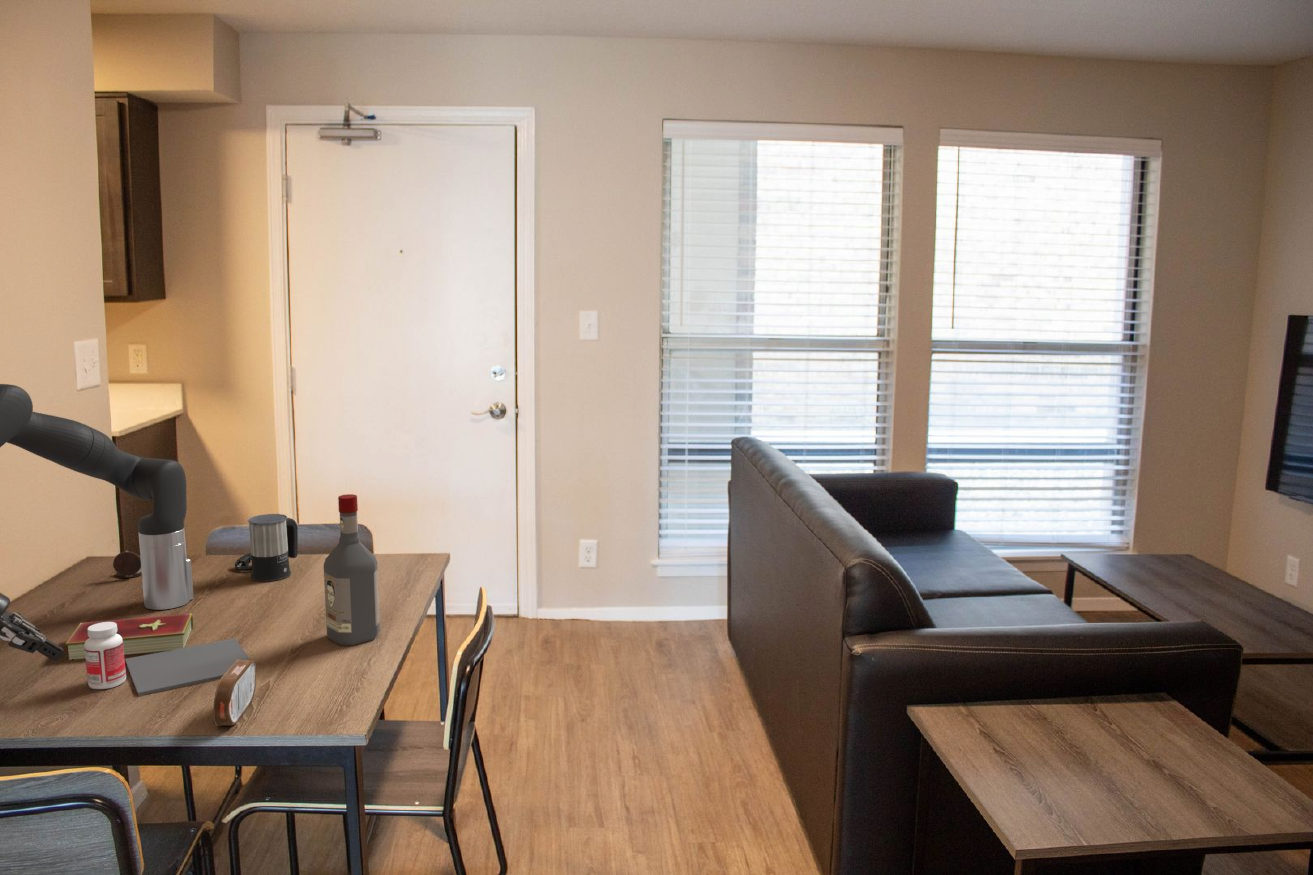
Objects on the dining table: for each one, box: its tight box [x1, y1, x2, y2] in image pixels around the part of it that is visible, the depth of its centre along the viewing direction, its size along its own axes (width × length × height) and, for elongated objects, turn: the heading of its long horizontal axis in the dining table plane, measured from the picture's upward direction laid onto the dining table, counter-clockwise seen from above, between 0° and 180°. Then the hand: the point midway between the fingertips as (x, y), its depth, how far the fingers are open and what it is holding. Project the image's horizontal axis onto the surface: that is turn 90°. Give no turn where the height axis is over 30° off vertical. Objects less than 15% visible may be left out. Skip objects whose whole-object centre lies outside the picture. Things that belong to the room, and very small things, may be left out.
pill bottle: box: [84, 622, 127, 690], centre depth 180 cm, size 6×6×11 cm
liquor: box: [323, 493, 381, 647], centre depth 202 cm, size 9×9×30 cm
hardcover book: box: [64, 613, 195, 661], centre depth 199 cm, size 12×21×4 cm, turn 107°
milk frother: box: [234, 513, 299, 583], centre depth 244 cm, size 14×16×15 cm
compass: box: [107, 549, 142, 579], centre depth 241 cm, size 8×8×7 cm
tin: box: [213, 659, 257, 727], centre depth 169 cm, size 15×3×8 cm, turn 5°
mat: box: [124, 637, 251, 697], centre depth 189 cm, size 20×18×1 cm
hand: (60, 655), depth 176 cm, fingers closed
